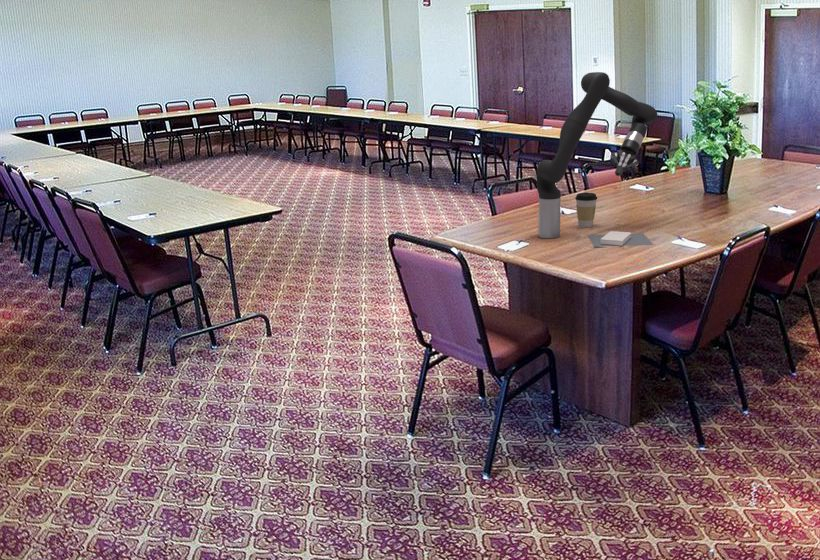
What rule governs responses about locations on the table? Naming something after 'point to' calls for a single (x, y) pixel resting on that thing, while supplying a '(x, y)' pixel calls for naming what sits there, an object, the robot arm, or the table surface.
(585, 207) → the coffee cup
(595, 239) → the mat
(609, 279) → the table surface
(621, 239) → the tile
